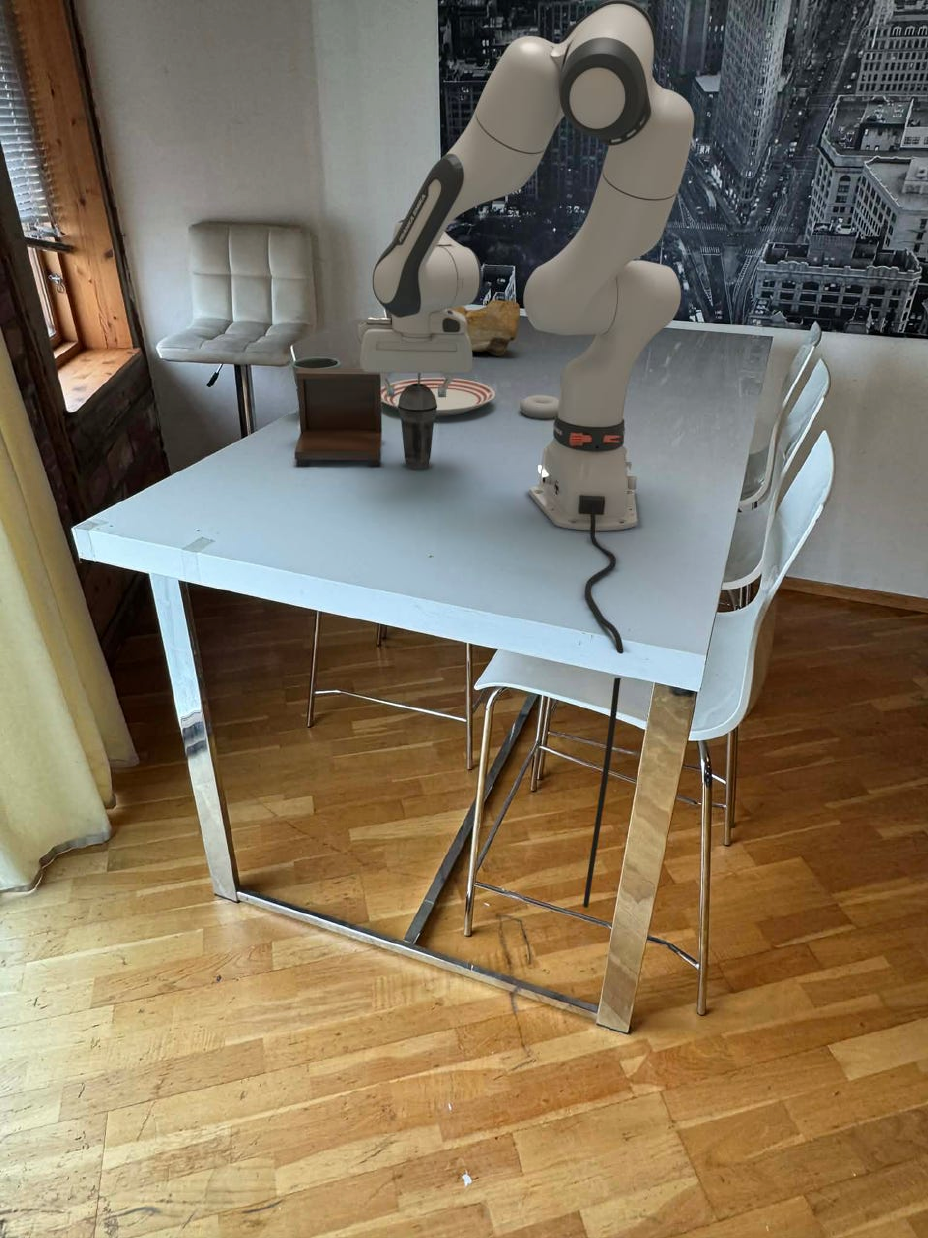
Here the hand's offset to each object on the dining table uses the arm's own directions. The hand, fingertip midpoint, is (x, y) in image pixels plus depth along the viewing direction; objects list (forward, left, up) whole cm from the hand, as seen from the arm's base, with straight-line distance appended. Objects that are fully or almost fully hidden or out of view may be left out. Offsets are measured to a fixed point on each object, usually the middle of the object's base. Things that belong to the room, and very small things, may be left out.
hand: (416, 396), depth 155 cm
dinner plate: (+40, -5, -14) cm, 42 cm away
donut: (+34, -29, -14) cm, 47 cm away
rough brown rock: (+95, -21, -14) cm, 98 cm away
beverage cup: (0, 0, -14) cm, 14 cm away
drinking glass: (+30, +21, -14) cm, 39 cm away
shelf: (+6, +15, -13) cm, 21 cm away
